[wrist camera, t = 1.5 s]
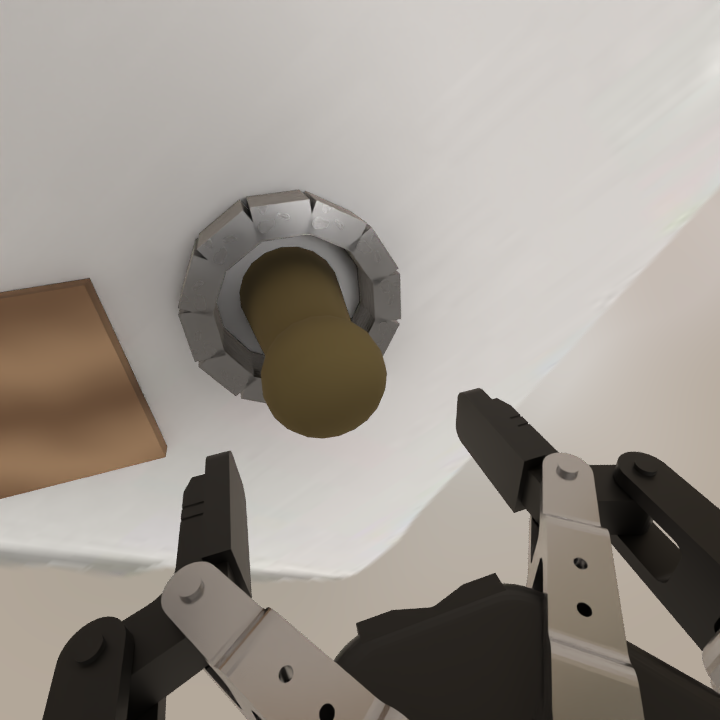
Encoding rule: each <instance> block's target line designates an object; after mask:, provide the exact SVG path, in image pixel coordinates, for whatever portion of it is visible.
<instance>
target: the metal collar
mask: <svg viewBox="0 0 720 720" xmlns="http://www.w3.org/2000/svg"><path fill="white" fill-rule="evenodd" d="M246 199H247V204H248V208H249V210H248V209H247V207H246V206H245V205H244V204H243V203H242V201H241V200H239V201H237V202H236V203H235V204H234V205H233V206H231V207H230V208H229V209H228V210H227V211H226V212H224V213H223V214H222V215H221V216H220V217H218V218H217V219H216V220H215V221H214V222H212V223H211V224H210V225H209V226H208V227H207V228H205V229H204V230H203V231H202V232H201V233H199V239H198V240H197V239H196V240H195V244H194V247H193V251H192V254H191V258H190V261H189V265H188V269H187V272H186V276H185V279H184V283H183V286H182V291H181V296H180V301H179V306H178V308H179V314H178V315H179V318H180V321H181V324H182V326H183V329H184V332H185V335H186V338H187V341H188V343H189V346H190V349H191V352H192V355H193V358H194V360H195V362H197V361H199V367H200V368H201V369H202V370H203V371H205V372H206V373H207V374H208V375H210V376H211V377H212V378H214V379H215V380H216V381H217V382H219V383H220V384H221V385H222V386H224V387H225V388H226V389H227V390H229V391H230V392H231V393H233V394H234V395H235V396H237V395H238V394H239V393H240V392H241V399H247V400H252V401H257V402H263V403H266V401H265V400H264V398H263V391H262V381H261V370H262V366H263V363H264V359H265V355H262V354H258V353H254V352H250V351H249V350H248V349H247V348H246V347H245V346H244V345H243V344H241V343H240V342H239V341H238V340H237V339H236V338H235V337H234V336H233V335H231V334H230V333H229V332H228V331H227V330H226V329H225V328H224V327H223V323H222V320H221V316H220V313H219V310H218V306H217V303H216V302H217V299H218V295H219V292H220V289H221V286H222V283H223V280H224V277H225V274H226V271H227V270H229V269H230V268H231V267H232V266H233V265H235V264H236V263H237V262H238V261H239V260H241V259H242V258H243V257H244V256H245V255H247V254H248V253H249V252H250V251H252V250H253V249H254V248H255V247H256V246H258V245H259V244H260V243H261V242H263V241H269V240H275V239H282V238H288V237H295V236H301V235H308V234H310V235H312V236H315V237H317V238H320V239H322V240H325V241H327V242H330V243H332V244H334V245H337V246H339V247H342V248H344V249H345V250H346V251H347V252H348V254H349V255H350V257H351V258H352V259H353V261H354V262H355V264H356V265H357V266H358V279H359V291H360V302H359V305H358V307H357V309H356V311H355V313H354V315H353V317H352V320H351V322H353V323H354V324H356V325H357V326H359V327H361V328H362V329H364V330H365V331H367V332H368V334H369V335H370V336H371V338H372V339H373V340H374V342H375V343H376V344H377V346H378V347H379V348H380V350H381V352H382V356H383V355H384V353H385V351H386V349H387V347H388V345H389V343H390V342H391V340H392V338H393V336H394V334H395V332H396V330H397V328H398V326H399V323H398V322H397V321H396V320H397V319H401V300H400V273H398V272H397V271H396V270H397V269H398V267H397V265H396V264H395V262H394V261H393V259H392V258H391V256H390V255H389V253H388V251H387V250H386V248H385V247H384V245H383V244H382V242H381V241H380V239H379V238H378V236H377V235H376V233H375V231H374V230H373V228H372V227H371V226H369V225H368V224H367V223H366V222H365V221H363V220H362V219H361V218H359V217H358V216H356V215H355V214H354V213H352V212H351V211H348V210H346V209H344V208H342V207H340V206H338V205H335V204H333V203H331V202H329V201H327V200H324V199H322V198H320V197H318V196H316V195H313V194H311V193H309V192H307V191H305V193H304V194H303V193H302V192H301V191H300V190H294V191H286V192H279V193H271V194H263V195H256V196H248V197H246Z"/></svg>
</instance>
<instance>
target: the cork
mask: <svg viewBox="0 0 720 720" xmlns="http://www.w3.org/2000/svg"><path fill="white" fill-rule="evenodd" d="M240 301H241V308H242V310H243V312H244V314H245V316H246V318H247V320H248V322H249V324H250V326H251V328H252V330H253V332H254V334H255V336H256V338H257V340H258V342H259V344H260V346H261V348H262V350H263V353H264V355H265V359H264V363H263V366H262V370H261V381H262V391H263V398H264V400H265V401H266V403H267V405H268V407H269V409H270V411H271V413H272V414H273V416H274V417H275V419H277V420H278V421H279V422H280V423H281V424H282V425H284V426H285V427H286V428H287V429H289V430H291V431H293V432H296V433H299V434H301V435H304V436H306V437H313V438H329V437H335V436H340V435H342V434H345V433H347V432H349V431H352V430H354V429H356V428H357V427H358V426H360V425H361V424H362V423H364V422H365V421H367V420H368V418H369V417H370V416H371V415H372V414H373V412H374V411H375V410H376V409H377V407H378V405H379V403H380V400H381V398H382V396H383V393H384V391H385V386H386V376H387V372H386V367H385V363H384V359H383V356H382V352H381V350H380V348H379V347H378V346H377V344H376V343H375V342H374V340H373V339H372V338H371V336H370V335H369V334H368V332H367V331H365V330H364V329H362V328H361V327H359V326H357V325H356V324H354V323H353V322H351V319H350V316H349V313H348V310H347V307H346V304H345V301H344V298H343V295H342V292H341V289H340V286H339V283H338V280H337V278H336V275H335V272H334V271H333V269H332V268H331V267H330V265H329V264H328V262H327V261H326V260H325V259H323V258H322V257H320V256H319V255H317V254H316V253H315V252H313V251H310V250H306V249H303V248H300V247H281V248H278V249H275V250H272V251H270V252H267V253H265V254H263V255H262V256H261V257H260V258H258V259H257V260H256V261H254V262H253V263H252V264H251V266H250V267H249V269H248V270H247V272H246V273H245V275H244V276H243V280H242V284H241V288H240Z"/></svg>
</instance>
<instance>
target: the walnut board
mask: <svg viewBox="0 0 720 720" xmlns="http://www.w3.org/2000/svg"><path fill="white" fill-rule="evenodd" d="M166 451H167V445H166V443H165V441H164V439H163V437H162V434H161V432H160V430H159V428H158V426H157V424H156V421H155V419H154V417H153V415H152V413H151V411H150V408H149V406H148V404H147V402H146V400H145V398H144V395H143V393H142V391H141V389H140V387H139V385H138V382H137V380H136V378H135V376H134V374H133V372H132V369H131V367H130V365H129V363H128V361H127V359H126V356H125V354H124V352H123V350H122V348H121V345H120V343H119V341H118V339H117V337H116V335H115V332H114V330H113V328H112V326H111V324H110V322H109V319H108V317H107V315H106V313H105V311H104V309H103V306H102V304H101V302H100V300H99V298H98V296H97V293H96V291H95V289H94V287H93V285H92V283H91V280H90V278H89V279H83V280H76V281H70V282H64V283H58V284H51V285H45V286H39V287H32V288H26V289H20V290H14V291H7V292H1V293H0V499H2V498H6V497H10V496H14V495H18V494H22V493H26V492H30V491H34V490H38V489H41V488H45V487H49V486H53V485H57V484H61V483H65V482H69V481H73V480H77V479H81V478H85V477H89V476H93V475H97V474H101V473H105V472H108V471H112V470H116V469H120V468H124V467H128V466H132V465H136V464H140V463H144V462H148V461H152V460H156V459H160V458H164V457H166Z"/></svg>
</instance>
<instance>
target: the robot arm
mask: <svg viewBox="0 0 720 720" xmlns="http://www.w3.org/2000/svg"><path fill="white" fill-rule="evenodd" d="M456 430H457V434H458V437H459V439H460V441H461V442H462V444H463V445H464V446H465V448H466V449H467V450H468V452H469V453H470V455H471V456H472V457H473V459H474V460H475V461H476V463H477V464H478V465H479V467H480V468H481V469H482V471H483V472H484V473H485V475H486V476H487V477H488V479H489V480H490V481H491V483H492V484H493V485H494V487H495V488H496V489H497V491H498V492H499V493H500V495H501V496H502V497H503V499H504V500H505V501H506V503H507V504H508V505H509V507H510V508H511V509H512V511H513V512H514V513H515V512H518V511H521V510H524V509H527V511H528V512H529V513H530V520H529V551H528V576H527V583H526V587H525V586H520V585H516V584H502V583H501V582H500V580H499V578H498V577H497V575H496V573H494V574H491V575H488V576H485V577H483V578H480V579H477V580H474V581H471V582H469V583H466V584H463V585H462V586H460V587H459V588H458V589H457V590H455V591H454V592H453V593H451V594H450V595H449V596H447V597H446V598H445V599H443V600H442V601H441V602H439V603H438V604H437V605H435V606H433V607H430V608H417V609H402V610H391V611H389V612H386V613H383V614H380V615H378V616H375V617H372V618H370V619H367V620H364V621H361V622H358V623H356V626H357V631H358V636H356V637H355V638H354V639H352V640H351V641H350V642H349V643H348V644H347V645H346V646H345V647H344V648H343V649H342V650H341V651H340V653H339V654H338V655H337V656H336V658H335V660H334V661H333V660H332V659H331V658H330V657H329V656H327V655H326V654H325V653H324V652H323V651H322V650H321V649H319V648H318V647H317V646H316V645H315V644H313V643H312V642H311V641H310V640H309V639H308V638H307V637H305V636H304V635H303V634H302V633H301V632H300V631H298V630H297V629H296V628H295V627H294V626H293V625H291V624H290V623H289V622H288V621H286V619H285V618H283V617H282V616H281V615H280V614H279V613H277V612H276V611H275V610H273V609H271V608H269V607H268V608H266V609H264V608H262V607H261V606H260V605H258V604H257V603H256V602H255V601H254V600H253V599H252V594H251V578H250V562H249V545H248V529H247V513H246V499H245V493H244V488H243V484H242V481H241V478H240V475H239V472H238V469H237V466H236V463H235V460H234V457H233V455H232V452H231V451H227V452H223V453H219V454H215V455H211V456H207V457H206V466H205V474H203V475H199V476H196V477H192V478H191V480H190V482H189V484H188V485H187V487H186V489H185V491H184V494H183V504H182V508H183V510H182V513H181V523H180V532H179V542H178V552H177V561H176V569H175V573H174V575H173V576H172V577H171V579H170V580H169V581H168V582H167V584H166V586H165V588H164V590H163V593H162V594H161V595H160V596H159V597H158V598H157V599H156V600H155V601H153V602H152V603H150V604H149V605H148V606H146V607H144V608H143V609H141V610H140V611H138V612H136V613H135V614H133V615H131V616H130V617H128V618H127V619H125V620H123V621H121V620H119V619H118V618H115V617H102V618H99V619H96V620H94V621H92V622H90V623H88V624H87V625H85V626H84V627H82V628H81V629H80V630H79V631H78V632H76V634H75V635H73V636H72V638H71V639H70V640H69V641H68V642H67V644H66V645H65V647H64V648H63V650H62V651H61V653H60V655H59V658H58V661H57V664H56V668H55V672H54V676H53V679H52V683H51V687H50V691H49V695H48V699H47V704H46V708H45V711H44V715H43V719H42V720H165V710H166V696H167V695H169V694H170V693H171V692H173V691H174V690H175V689H176V688H178V687H179V686H181V685H182V684H183V683H185V682H186V681H187V680H189V679H190V678H191V677H193V676H194V675H195V674H197V673H198V672H200V671H201V670H202V669H203V670H204V671H205V672H206V673H207V674H208V675H209V676H210V677H211V678H212V680H213V681H214V682H215V683H216V684H217V685H218V686H219V688H220V689H221V690H222V691H223V692H224V693H225V694H226V696H227V697H228V698H229V699H230V700H231V701H232V702H233V704H234V705H235V706H236V707H237V708H238V709H239V710H240V711H241V713H242V714H243V715H244V716H245V717H246V719H247V720H720V509H719V508H717V507H716V506H715V505H714V504H713V503H711V502H710V501H709V500H708V499H707V498H705V497H704V496H703V495H702V494H701V493H699V492H698V491H697V490H696V489H695V488H693V487H692V486H691V485H690V484H689V483H687V482H686V481H685V480H684V479H683V478H682V477H680V476H679V475H678V474H677V473H675V472H674V471H673V470H672V469H671V468H669V467H668V466H667V465H666V464H665V463H663V462H662V461H661V460H659V459H657V458H655V457H653V456H651V455H648V454H645V453H640V452H627V453H624V454H622V455H621V456H620V457H619V458H618V461H617V464H616V465H588V464H587V463H586V462H585V461H583V460H582V459H580V458H578V457H577V456H574V455H571V454H568V453H559V452H558V451H556V450H555V449H554V448H553V447H552V446H551V445H550V444H549V443H548V442H547V441H546V440H545V439H544V438H543V437H542V436H541V435H540V434H539V433H538V432H537V431H536V430H535V429H534V428H533V427H532V426H531V425H530V424H528V422H527V421H526V420H525V419H524V418H523V417H521V416H520V414H519V413H518V412H517V411H516V410H515V409H514V408H513V407H512V406H511V405H509V404H507V403H505V402H503V401H501V400H499V399H498V398H496V399H491V398H490V397H489V396H488V395H487V394H486V393H485V392H484V391H483V390H482V389H480V388H477V389H473V390H469V391H465V392H462V393H459V395H458V401H457V416H456ZM653 520H654V521H655V522H656V523H657V524H658V525H659V526H660V527H661V528H662V529H663V530H664V531H665V532H666V533H668V535H669V536H670V537H672V539H673V540H674V541H675V542H676V543H677V545H678V546H679V548H680V549H679V548H678V547H677V546H676V545H675V544H674V543H673V542H672V541H671V540H670V539H669V538H668V537H667V536H666V535H665V534H664V533H663V532H662V531H661V530H660V529H659V528H658V527H657V526H656V525H655V524H654V523H653ZM611 544H612V545H613V546H614V547H615V549H616V550H617V551H618V552H619V553H620V554H621V556H622V557H623V558H624V559H625V560H626V561H627V563H628V564H629V565H630V566H631V567H632V569H633V570H634V571H635V572H636V573H637V574H638V576H639V577H640V578H641V579H642V580H643V582H644V583H645V584H646V585H647V586H648V588H649V589H650V590H651V591H652V592H653V593H654V595H655V596H656V597H657V598H658V599H659V600H660V602H661V603H662V604H663V605H664V606H665V608H666V609H667V610H668V611H669V612H670V614H672V616H673V617H674V618H675V619H676V621H677V622H678V623H679V624H680V625H681V626H682V628H683V629H684V630H685V631H686V632H687V634H688V635H689V636H690V637H691V638H692V640H693V641H694V642H695V643H696V644H697V645H698V647H699V648H700V649H701V650H702V651H703V653H702V659H703V663H704V666H705V668H706V671H707V673H708V675H709V676H710V678H711V685H712V687H713V689H711V688H709V687H707V686H705V685H704V684H702V683H700V682H699V681H697V680H695V679H693V678H691V677H690V676H688V675H686V674H684V673H683V672H681V671H679V670H677V669H676V668H674V667H672V666H670V665H669V664H667V663H665V662H663V661H662V660H660V659H658V658H656V657H655V656H653V655H651V654H649V653H648V652H646V651H644V650H642V649H640V648H638V647H637V646H635V645H633V644H632V643H630V642H628V641H626V637H625V630H624V624H623V617H622V611H621V604H620V598H619V592H618V585H617V579H616V572H615V566H614V559H613V553H612V547H611Z"/></svg>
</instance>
